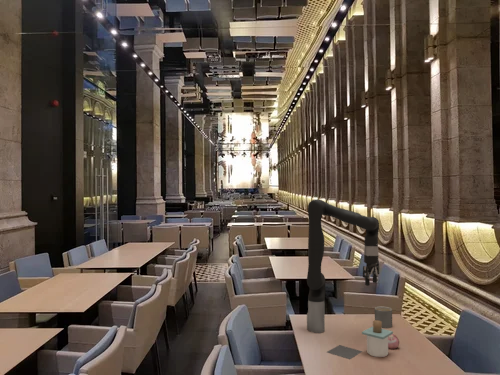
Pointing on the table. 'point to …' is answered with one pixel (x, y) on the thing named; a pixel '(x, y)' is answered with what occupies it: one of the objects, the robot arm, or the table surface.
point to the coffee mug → (384, 316)
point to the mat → (344, 352)
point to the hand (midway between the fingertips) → (371, 284)
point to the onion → (393, 342)
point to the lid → (377, 331)
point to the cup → (377, 346)
